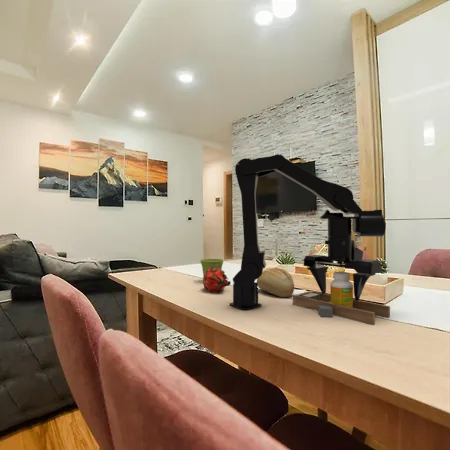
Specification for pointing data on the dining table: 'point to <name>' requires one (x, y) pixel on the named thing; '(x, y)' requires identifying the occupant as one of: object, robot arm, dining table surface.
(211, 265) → the plant pot
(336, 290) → the supplement bottle
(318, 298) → the steel counterweight
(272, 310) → the dining table surface
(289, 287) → the bread roll
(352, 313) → the walnut beam
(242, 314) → the dining table surface
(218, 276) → the dragon fruit
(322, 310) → the gray block
